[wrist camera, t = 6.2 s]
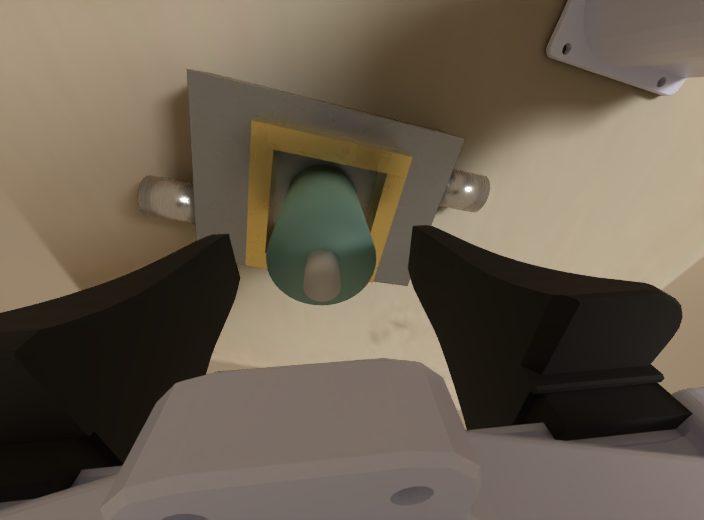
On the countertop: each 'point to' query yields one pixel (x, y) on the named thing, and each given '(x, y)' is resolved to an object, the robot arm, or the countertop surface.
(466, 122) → the countertop surface
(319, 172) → the bottle
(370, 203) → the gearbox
